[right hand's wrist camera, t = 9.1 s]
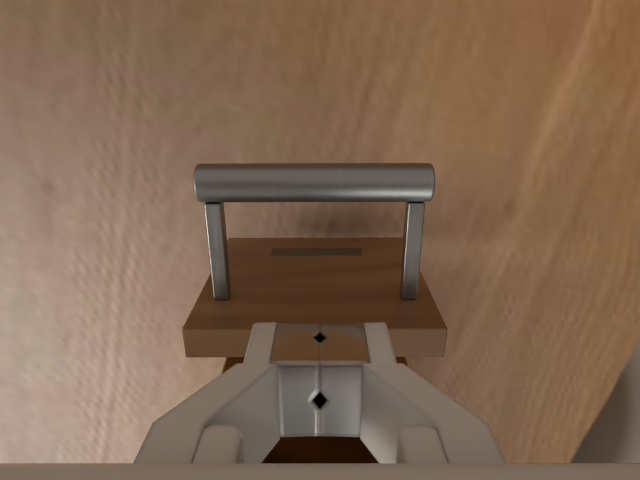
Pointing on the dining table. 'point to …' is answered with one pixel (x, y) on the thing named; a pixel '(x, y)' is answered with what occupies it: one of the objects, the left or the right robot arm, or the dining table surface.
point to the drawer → (314, 273)
